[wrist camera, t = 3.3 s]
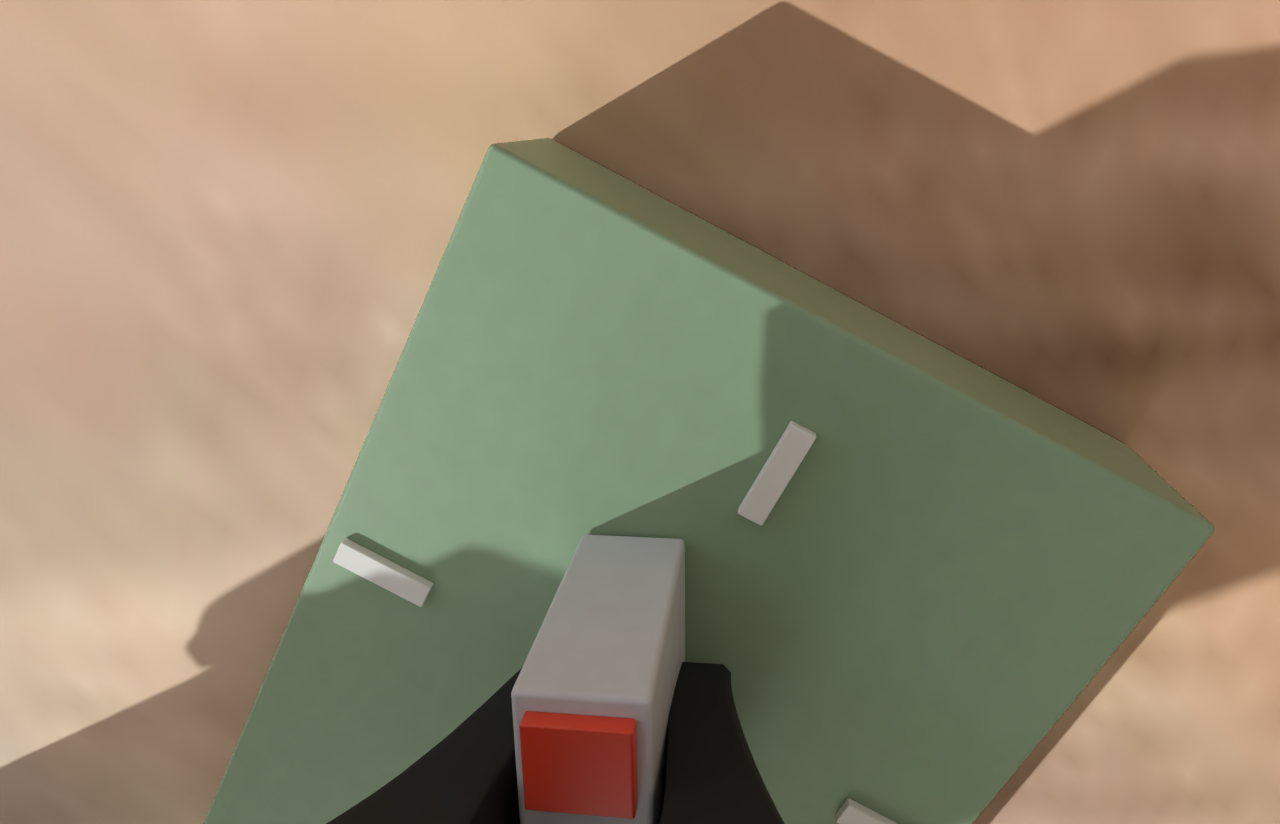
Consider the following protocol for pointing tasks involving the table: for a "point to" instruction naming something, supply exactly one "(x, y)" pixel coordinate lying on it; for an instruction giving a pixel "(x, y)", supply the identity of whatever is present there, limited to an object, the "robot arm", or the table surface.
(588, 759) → the tap handle
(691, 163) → the table surface
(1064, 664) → the plate
